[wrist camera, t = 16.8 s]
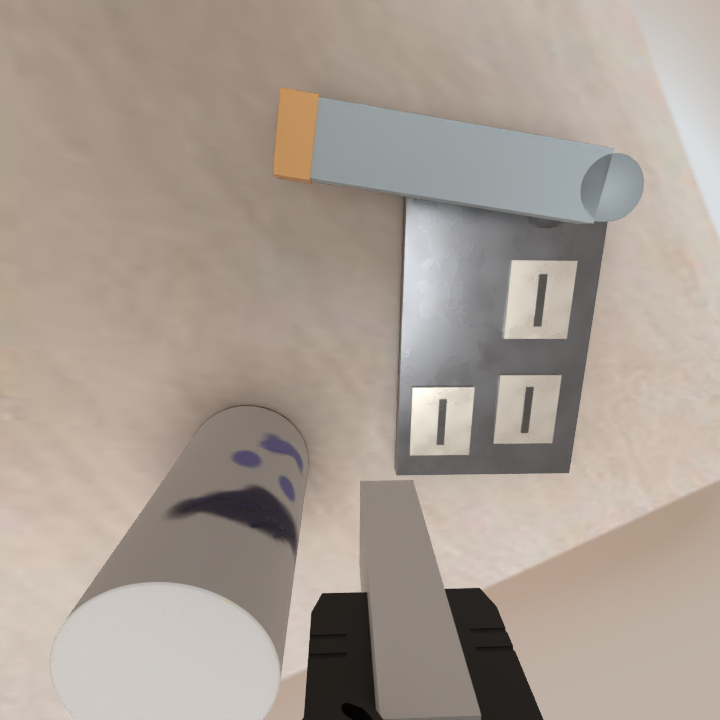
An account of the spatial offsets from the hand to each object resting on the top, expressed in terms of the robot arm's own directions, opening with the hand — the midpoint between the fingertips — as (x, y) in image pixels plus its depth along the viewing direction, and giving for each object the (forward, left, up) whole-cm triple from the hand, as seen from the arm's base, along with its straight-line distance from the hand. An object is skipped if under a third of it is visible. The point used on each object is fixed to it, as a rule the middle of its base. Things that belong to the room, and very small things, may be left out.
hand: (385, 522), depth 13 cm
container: (+11, -9, -25) cm, 28 cm away
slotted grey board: (0, +11, -24) cm, 27 cm away
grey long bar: (-12, +6, -18) cm, 22 cm away
